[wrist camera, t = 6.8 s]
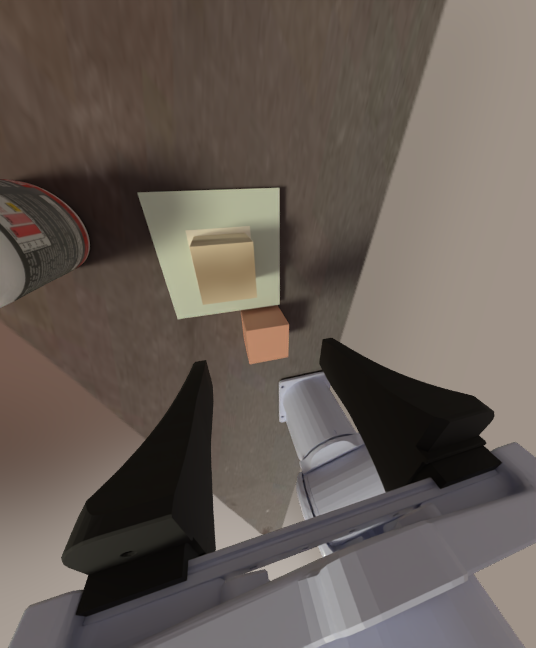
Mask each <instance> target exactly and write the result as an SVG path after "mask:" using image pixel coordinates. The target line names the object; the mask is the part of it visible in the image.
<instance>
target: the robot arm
mask: <svg viewBox="0 0 536 648" xmlns="http://www.w3.org/2000/svg"><path fill="white" fill-rule="evenodd" d="M319 364H320V366H321V368H322V370H323V371H322V372H318V373H313V374H308V375H304V376H299V377H294V378H290V379H285V380H281V381H280V382H279V421H280V422H285V421H286V423H287V426H288V429H289V432H290V435H291V438H292V440H293V443H294V446H295V449H296V452H297V455H298V458H299V459H300V462H299V463H300V466H301V469H302V472H300V473H299V474H298V476H297V482H296V490H297V496H298V500H299V504H300V507H301V510H302V513H303V516H304V519H305V521H302V522H299V523H296V524H293V525H290V526H287V527H284V528H281V529H278V530H276V531H273V532H270V533H267V534H264V535H261V536H258V537H255V538H252V539H249V540H246V541H244V542H241V543H238V544H235V545H232V546H229V547H226V548H223V549H220V550H218V551H215V550H216V546H215V531H214V515H213V494H212V470H211V433H212V417H213V385H212V381H211V377H210V373H209V370H208V366H207V362H206V360H204V361H198V362H195V363H194V364H193V366H192V368H191V370H190V373H189V375H188V377H187V379H186V381H185V382H184V384H183V386H182V388H181V390H180V391H179V393H178V395H177V397H176V398H175V400H174V401H173V403H172V405H171V406H170V408H169V409H168V411H167V412H166V414H165V415H164V417H163V418H162V419H161V421H160V422H159V423H158V425H157V426H156V427H155V429H154V430H153V431H152V432H151V434H150V435H149V436H148V437H147V439H146V440H145V441H144V442H143V444H142V445H141V446H140V447H139V448H138V449H137V450H136V452H135V453H134V454H133V455H132V456H131V457H130V458H129V459H128V460H127V461H126V462H125V464H124V465H123V466H122V467H121V468H120V469H119V470H118V471H117V472H116V473H115V474H114V475H113V476H112V477H111V478H110V479H109V480H108V481H107V482H106V483H105V484H104V485H103V486H102V487H101V488H100V489H99V490H97V491H96V493H94V495H92V496H91V497H90V498H89V499H88V500H87V501H86V503H85V505H84V507H83V509H82V511H81V513H80V515H79V517H78V519H77V522H76V524H75V526H74V528H73V531H72V533H71V535H70V538H69V540H68V543H67V545H66V547H65V550H64V552H63V554H62V557H61V558H62V562H63V564H64V565H65V566H67V567H68V568H71V569H74V570H76V571H79V572H82V573H85V574H87V575H88V578H87V581H86V584H85V587H84V590H77V591H71V592H68V593H65V594H62V595H59V596H56V597H53V598H50V599H47V600H44V601H41V602H38V603H35V604H32V605H30V606H29V607H28V608H27V609H26V610H25V611H24V613H23V616H22V618H21V620H20V622H19V624H18V627H17V629H16V631H15V633H14V635H13V637H12V640H11V642H10V644H9V646H8V648H525V647H524V645H523V644H522V642H521V641H520V640H519V638H518V637H517V635H516V634H515V633H514V631H513V629H512V628H511V627H510V625H509V624H508V622H507V621H506V619H505V618H504V617H503V615H502V614H501V612H500V611H499V609H498V608H497V607H496V605H495V604H494V602H493V601H492V599H491V598H490V597H489V595H488V594H487V592H486V591H485V589H484V588H483V587H482V585H481V584H480V583H479V581H478V580H477V578H476V577H475V575H474V573H476V572H478V571H480V570H482V569H484V568H486V567H488V566H490V565H492V564H494V563H496V562H498V561H500V560H502V559H504V558H506V557H508V556H510V555H512V554H514V553H516V552H518V551H520V550H522V549H524V548H526V547H528V546H530V545H533V544H534V543H536V457H534V456H533V455H532V454H531V453H529V452H528V451H527V450H525V449H524V448H523V447H522V446H520V445H519V444H518V443H516V442H513V443H510V444H507V445H504V446H501V447H498V448H496V449H494V450H492V451H491V452H490V451H489V450H488V449H487V448H486V447H484V446H483V445H485V444H486V442H485V440H483V439H482V438H481V437H480V436H479V435H480V433H481V432H482V431H483V430H484V429H485V428H486V427H487V426H488V425H489V424H490V423H491V421H492V420H493V418H494V411H493V410H492V409H490V408H489V407H488V406H486V405H485V404H484V403H482V402H481V401H480V400H478V399H477V398H476V397H474V396H472V395H468V394H464V393H460V392H456V391H452V390H448V389H444V388H441V387H437V386H434V385H431V384H427V383H424V382H421V381H418V380H415V379H413V378H410V377H407V376H405V375H402V374H399V373H397V372H395V371H393V370H390V369H388V368H386V367H384V366H382V365H380V364H378V363H376V362H373V361H372V360H370V359H368V358H366V357H364V356H362V355H361V354H359V353H357V352H355V351H354V350H352V349H350V348H348V347H347V346H345V345H343V344H342V343H340V342H338V341H337V340H335V339H333V338H327V339H323V340H322V348H321V355H320V363H319ZM330 384H331V386H332V388H333V389H334V390H335V392H336V394H337V395H338V397H339V398H340V400H341V401H342V403H343V404H344V406H345V407H346V409H347V410H348V412H349V414H350V416H351V418H352V419H353V422H354V424H355V426H356V427H357V429H358V431H359V433H360V434H359V433H356V431H355V430H354V428H353V426H352V425H351V423H350V421H349V420H348V418H347V417H346V415H345V413H344V412H343V410H342V409H341V407H340V405H339V404H338V402H337V401H336V399H335V397H334V396H333V394H332V392H331V391H330ZM317 546H318V548H319V550H320V552H321V554H322V557H323V558H320V559H318V560H316V561H314V562H311V563H309V564H307V565H305V566H303V567H300V568H298V569H296V570H294V571H292V572H290V573H287V574H285V575H283V576H281V577H279V578H277V579H274V580H272V581H270V580H269V579H268V574H267V571H266V570H265V569H264V570H259V571H255V572H250V571H252V570H255V569H258V568H261V567H263V566H266V565H269V564H271V563H274V562H277V561H279V560H282V559H285V558H288V557H290V556H293V555H296V554H298V553H301V552H303V551H306V550H309V549H312V548H314V547H317ZM247 572H250V573H247ZM245 573H246V574H245Z"/></svg>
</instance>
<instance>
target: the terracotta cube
mask: <svg viewBox="0 0 536 648" xmlns="http://www.w3.org/2000/svg"><path fill="white" fill-rule="evenodd" d="M241 317H242V326H243V334H244V342H245V346H246V350H247V355H248V359H249V363H250V364H254V363H259V362H264V361H270V360H275V359H280V358H285V357H288V346H289V323H288V322H287V320H286V318H285V317H284V315H283V313H282V312H281V310H280V308H279V307H278V305H276V306H269V307H262V308H255V309H248V310H241Z"/></svg>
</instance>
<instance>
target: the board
mask: <svg viewBox="0 0 536 648" xmlns="http://www.w3.org/2000/svg"><path fill="white" fill-rule="evenodd" d="M138 197H139V200H140V203H141V206H142V209H143V212H144V215H145V218H146V221H147V225H148V228H149V231H150V234H151V237H152V240H153V243H154V246H155V250H156V253H157V256H158V259H159V262H160V265H161V268H162V271H163V274H164V278H165V281H166V284H167V287H168V290H169V293H170V296H171V299H172V303H173V306H174V309H175V312H176V315H177V318H178V319H182V318H189V317H196V316H203V315H210V314H217V313H224V312H231V311H238V310H245V309H252V308H259V307H266V306H273V305H280V191H279V188H258V189H228V190H198V191H168V192H138ZM235 233H245V234H246V235H247V236H248V237H249V238H250V239H251V240H252V241H253V246H254V260H255V274H256V289H257V298H250V299H243V300H235V301H228V302H221V303H213V304H206V305H203V303H202V299H201V295H200V290H199V286H198V282H197V278H196V273H195V269H194V265H193V260H192V256H191V252H190V248H189V247H190V244H191V242H192V240H193V237H194V236H208V235H221V234H235Z"/></svg>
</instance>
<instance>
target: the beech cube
mask: <svg viewBox="0 0 536 648" xmlns="http://www.w3.org/2000/svg"><path fill="white" fill-rule="evenodd" d="M189 248H190V252H191V256H192V260H193V265H194V269H195V273H196V278H197V282H198V286H199V290H200V295H201V299H202V303H203V305H206V304H213V303H221V302H228V301H235V300H243V299H250V298H257V289H256V274H255V260H254V246H253V241H252V240H251V239H250V238H249V237H248V236H247V235H246V234H245V233H235V234H221V235H208V236H194V237H193V240H192V242H191V244H190V247H189Z"/></svg>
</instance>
